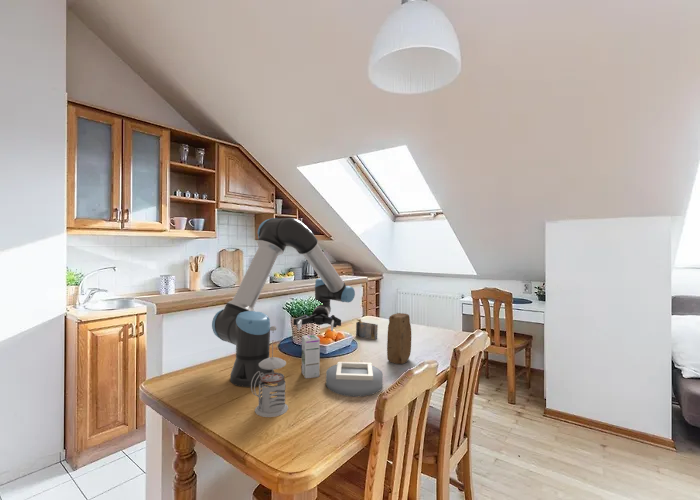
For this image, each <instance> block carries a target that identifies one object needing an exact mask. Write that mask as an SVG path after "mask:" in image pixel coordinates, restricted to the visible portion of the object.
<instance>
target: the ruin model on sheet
mask: <svg viewBox="0 0 700 500" xmlns="http://www.w3.org/2000/svg"><path fill="white" fill-rule="evenodd" d="M356 321H357V322H355V324H356V325H355V336H356V337H358V336H359V337H361V338H366V339H371V340H377V339H378V330H379V329H378V328H379V327H378V324H377V323H370V322H365V321H362V320H361V319H358V318H356Z"/></svg>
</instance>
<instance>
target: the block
mask: <svg viewBox="0 0 700 500" xmlns="http://www.w3.org/2000/svg"><path fill="white" fill-rule="evenodd" d="M411 352H412V325H411V320H410V314H408V313H405V312H404V313H403V312H402V313H401V312H397V313H394V314H391V315H390V316H389V318H388V327H387V341H386V354H387V355H386V357H387V361H388V362H390V363H392V364H396V365H403V364H406V363H407V362H408V360H409V358H410V356H411Z"/></svg>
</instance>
